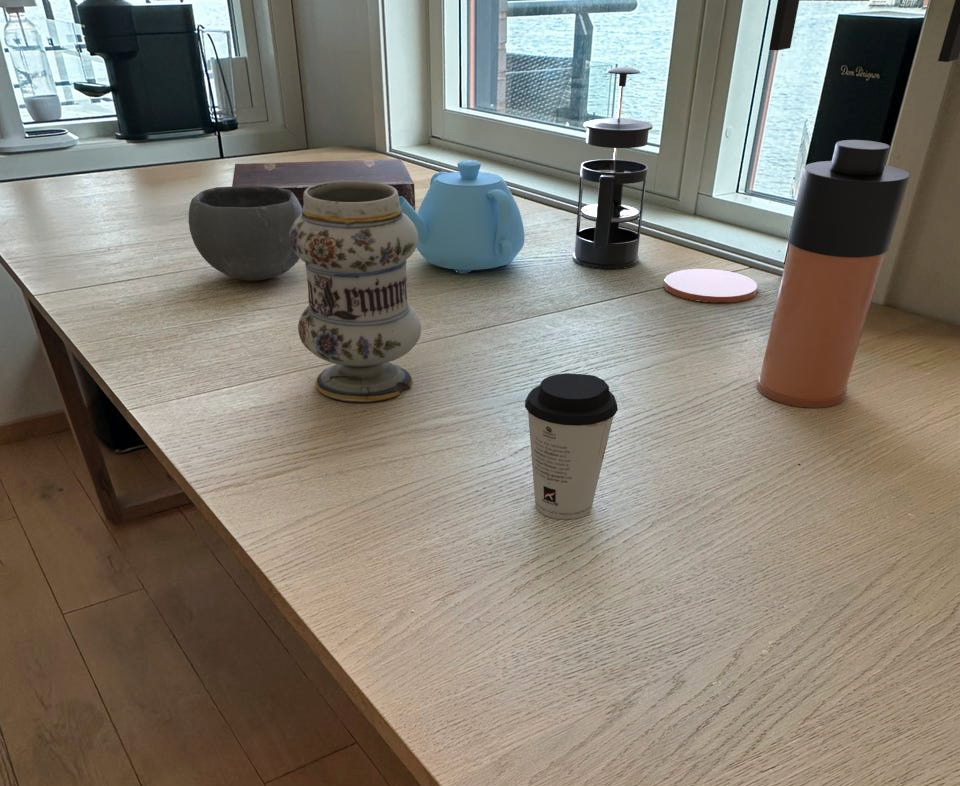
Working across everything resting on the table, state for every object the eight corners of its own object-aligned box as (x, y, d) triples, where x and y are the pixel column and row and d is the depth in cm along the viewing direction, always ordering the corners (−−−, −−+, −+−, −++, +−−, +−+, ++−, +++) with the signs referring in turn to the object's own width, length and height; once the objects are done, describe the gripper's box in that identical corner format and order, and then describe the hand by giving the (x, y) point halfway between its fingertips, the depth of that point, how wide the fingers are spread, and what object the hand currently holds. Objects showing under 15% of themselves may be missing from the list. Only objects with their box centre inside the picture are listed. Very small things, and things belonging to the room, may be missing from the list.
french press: (580, 247, 128) (594, 62, 113) (643, 252, 126) (665, 64, 111) (564, 269, 119) (577, 72, 104) (631, 275, 117) (654, 75, 102)
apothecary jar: (393, 416, 82) (381, 210, 71) (283, 397, 85) (254, 198, 74) (441, 370, 91) (437, 181, 79) (339, 354, 94) (321, 171, 82)
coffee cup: (544, 535, 66) (552, 412, 59) (506, 493, 71) (509, 375, 64) (622, 516, 68) (638, 396, 62) (580, 477, 73) (590, 362, 66)
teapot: (555, 270, 118) (561, 168, 110) (432, 296, 110) (428, 187, 102) (475, 238, 131) (475, 144, 123) (359, 259, 122) (351, 159, 114)
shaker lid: (889, 236, 80) (917, 139, 75) (888, 262, 74) (918, 157, 69) (792, 227, 83) (813, 132, 78) (783, 251, 77) (805, 149, 71)
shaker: (847, 380, 89) (888, 237, 80) (843, 413, 83) (887, 261, 74) (761, 368, 92) (792, 227, 83) (751, 400, 85) (784, 251, 77)
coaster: (761, 280, 116) (762, 274, 115) (750, 308, 107) (751, 301, 106) (673, 270, 119) (674, 264, 118) (655, 296, 110) (656, 290, 110)
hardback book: (236, 222, 138) (231, 187, 134) (240, 195, 152) (235, 163, 149) (415, 215, 142) (414, 181, 139) (402, 190, 156) (401, 159, 153)
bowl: (302, 256, 123) (292, 178, 117) (320, 287, 112) (311, 203, 106) (195, 265, 119) (180, 185, 113) (203, 298, 108) (187, 212, 102)
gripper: (749, -322, 60) (698, 48, 73) (1168, -386, 48) (1016, 70, 61) (791, -303, 64) (736, 42, 78) (1183, -356, 52) (1038, 61, 66)
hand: (859, 55), depth 69 cm, fingers open, 13 cm apart
